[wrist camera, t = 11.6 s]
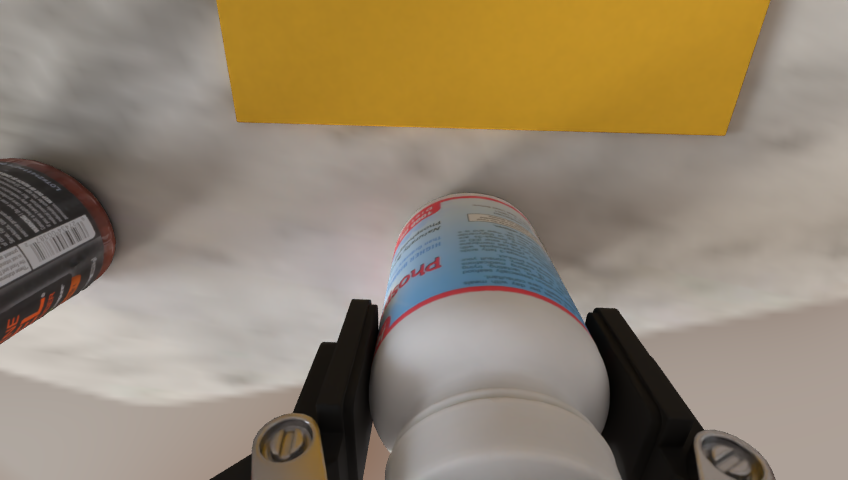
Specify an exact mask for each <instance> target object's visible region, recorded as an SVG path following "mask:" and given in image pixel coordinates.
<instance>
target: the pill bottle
mask: <svg viewBox="0 0 848 480" xmlns="http://www.w3.org/2000/svg"><path fill="white" fill-rule="evenodd" d="M609 404H610V386H609V379H608V375H607V371H606V367H605V365H604V362H603V359H602V357H601V355H600V353H599V351H598V348H597V346H596V344H595V342H594V340H593V339H592V337H591V335H590V333H589V331H588V329H587V327H586V325H585V323H584V321H583V320H582V318H581V316H580V314H579V312H578V310H577V308H576V306H575V304H574V303H573V301H572V299H571V297H570V295H569V293H568V291H567V290H566V288H565V286H564V284H563V282H562V280H561V278H560V277H559V275H558V273H557V271H556V269H555V267H554V265H553V263H552V261H551V260H550V258H549V256H548V254H547V252H546V250H545V248H544V246H543V245H542V243H541V241H540V239H539V237H538V235H537V234H536V232H535V230H534V228H533V227H532V225H531V223H530V222H529V221H528V219H527V218H526V217H525V216H524V215H523V214H522V213H521V212H520V211H519V210H518V209H517V208H516V207H514V206H513V205H511V204H510V203H508V202H506V201H504V200H502V199H500V198H497V197H494V196H490V195H485V194H477V193H458V194H451V195H447V196H443V197H440V198H437V199H435V200H433V201H431V202H429V203H427V204H425V205H424V206H422V207H421V208H420V209H419V210H417V211H416V212H415V213H414V214H413V215H412V216H411V217H410V218H409V220H408V221H407V222H406V224H405V225H404V227H403V229H402V231H401V233H400V235H399V237H398V240H397V244H396V247H395V252H394V256H393V261H392V267H391V272H390V277H389V281H388V287H387V292H386V297H385V302H384V307H383V312H382V316H381V320H380V326H379V332H378V336H377V341H376V345H375V351H374V356H373V361H372V366H371V374H370V380H369V405H370V412H371V416H372V419H373V423H374V426H375V428H376V430H377V433H378V435H379V437H380V439H381V440H382V442H383V444H384V445H385V447H386V448H387V449H388V451H389V452H390V453H391V454H390V456H389V458H388V461H387V465H386V470H385V480H622V479H621V476H620V474H619V471H618V469H617V466H616V462H615V458H614V456H613V453H612V451H611V449H610V447H609V446H608V444H607V442H606V441H605V439H604V438H603V437H602V436H601V433H602V431H603V429H604V426H605V423H606V420H607V417H608V412H609Z"/></svg>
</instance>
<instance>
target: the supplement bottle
mask: <svg viewBox="0 0 848 480" xmlns="http://www.w3.org/2000/svg"><path fill="white" fill-rule="evenodd" d="M115 244H116V240H115V236H114V231H113V228H112V225H111V223H110V220H109V218H108V216H107V214H106V212H105V210H104V209H103V207H102V206H101V204H100V202H98V200H97V199H96V198H95V196H94V195H93V194H92V193H91V192H90V191H89V190H88V189H87V188H85V187H83V185H82V184H81V183H79V182H78V181H77V180H75V179H74V178H73V177H71V176H69V175H67V174H66V173H64V172H62V171H61V170H59V169H56V168H54V167H53V166H50V165H47V164H44V163H41V162H38V161H33V160H26V159H16V158H8V159H0V344H2V343H3V342H4V341H6V340H8V339H9V338H10V337H12V336H13V335H15V334H16V333H18V332H19V331H21V330H22V329H24V328H25V327H27V326H28V325H30V324H32V323H34V322H35V321H36V320H38V319H40V318H41V317H43V316H44V315H46V314H47V313H48V312H49V311H51V310H53V309H54V308H56V307H57V306H58V305H60V304H62V303H63V302H65V301H66V300H68V299H70V298H71V297H73V296H75V295H76V294H78V293H79V292H80V291H81V290H84V289H86V288H87V287H88V286H89V285H90V284H91V283H93V282H94V281H95V280H96V279H98V278H99V277H100V276H101V275H102V274H103V273H104V272H105V271H106V270H107V269H108V267H109V266H110V264H111V262H112V259H113V256H114V252H115Z"/></svg>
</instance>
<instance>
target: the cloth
mask: <svg viewBox="0 0 848 480" xmlns="http://www.w3.org/2000/svg"><path fill="white" fill-rule="evenodd" d="M216 1H217V7H218V13H219V19H220V25H221V31H222V37H223V42H224V48H225V54H226V60H227V66H228V72H229V78H230V83H231V89H232V95H233V101H234V107H235V113H236V119H237V122H250V123H286V124H322V125H358V126H394V127H430V128H466V129H502V130H538V131H574V132H610V133H646V134H682V135H718V136H724V135H726V132H727V129H728V126H729V123H730V120H731V117H732V114H733V111H734V108H735V105H736V102H737V99H738V96H739V93H740V90H741V87H742V84H743V81H744V78H745V75H746V72H747V69H748V66H749V63H750V60H751V57H752V54H753V51H754V48H755V45H756V42H757V39H758V36H759V33H760V30H761V27H762V24H763V21H764V18H765V15H766V12H767V9H768V6H769V3H770V1H771V0H216Z"/></svg>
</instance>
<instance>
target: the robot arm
mask: <svg viewBox="0 0 848 480" xmlns="http://www.w3.org/2000/svg"><path fill="white" fill-rule="evenodd" d="M585 325H586V327H587V329H588V331H589V333H590V335H591V337H592V339H593V340H594V342H595V344H596V346H597V348H598V351H599V353H600V355H601V357H602V359H603V362H604V365H605V367H606V371H607V375H608V379H609V386H610V404H609V412H608V417H607V420H606V423H605V426H604V429H603V431H602V433H601V436H602V437H603V438H604V439H605V441H606V442H607V444H608V446H609V447H610V449H611V451H612V453H613V456H614V458H615V462H616V466H617V469H618V471H619V474H620V476H621V479H622V480H776V479H775V477H774V474H773V471H772V469H771V468H770V466H769V464H768V462H767V461H766V460H765V459H764V458H763V456H762V455H761V454H760V453H759V452H758V451H757V450H756V449H754V448H753V447H752V446H750V445H749V444H748V443H746V442H745V441H743V440H741V439H739V438H738V437H736V436H733V435H731V434H728V433H726V432H722V431H717V430H704V429H703V428H702V426H701V425H700V423H699V422H698V421H697V419H696V418H695V417H694V415H693V414H692V412H691V411H690V409H689V408H688V407H687V405H686V404H685V402H684V401H683V399H682V398H681V397H680V395H679V394H678V392H677V391H676V390H675V388H674V387H673V385H672V384H671V383H670V381H669V380H668V378H667V377H666V376H665V374H664V373H663V371H662V370H661V368H660V367H659V366H658V364H657V363H656V362H655V360H654V359H653V358H652V357H651V356H650V355H649V353H648V352H647V351H646V349H645V348H644V346H643V345H642V344H641V342H640V341H639V339H638V338H637V336H636V335H635V334H634V332H633V331H632V329H631V328H630V327H629V325H628V324H627V322H626V321H625V319H624V318H623V317H622V315H621V314H620V312H619V311H618V310H617V309H615V308H595V309H594V311H593V313H592V312H590V313H588V314H587V318H586V322H585ZM378 332H379V330H378V306H377V305H371V300H361V299H352V301H351V303H350V306H349V309H348V312H347V315H346V318H345V321H344V324H343V326H342V329H341V332H340V335H339V338H338V341H337V343H335V342H322V343H321V345H320V346H319V349H318V351H317V354H316V356H315V359H314V361H313V364H312V366H311V369H310V371H309V374H308V376H307V379H306V381H305V384H304V386H303V389H302V391H301V394H300V396H299V399H298V401H297V404H296V406H295V409H294V411H293V413H291V414H284V415H281V416H279V417H276V418H274V419H273V420H271V421H269V422H268V423H266V424H265V425H264V426H263V427H262V428H261V429H260V430H259V431H258V433H257V435H256V437H255V439H254V441H253V446H252V454H251V455H249V456H247V457H246V458H244V459H243V460H241V461H239V462H238V463H236V464H234V465H233V466H231V467H230V468H228V469H226V470H225V471H223V472H221V473H220V474H218V475H216V476H215V477H213V478H211V479H210V480H363V474H364V468H365V462H366V456H367V451H368V445H369V440H370V434H371V428H372V422H373V419H372V416H371V412H370V405H369V380H370V374H371V366H372V361H373V356H374V351H375V345H376V341H377V336H378Z"/></svg>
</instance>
